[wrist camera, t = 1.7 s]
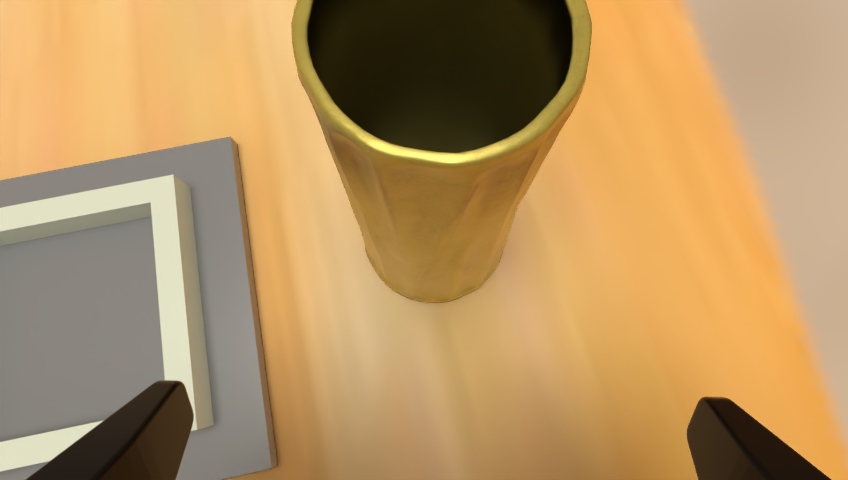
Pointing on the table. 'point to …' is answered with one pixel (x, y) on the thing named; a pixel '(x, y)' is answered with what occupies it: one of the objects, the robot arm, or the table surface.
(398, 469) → the table surface
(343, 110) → the vase
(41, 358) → the vase holder
